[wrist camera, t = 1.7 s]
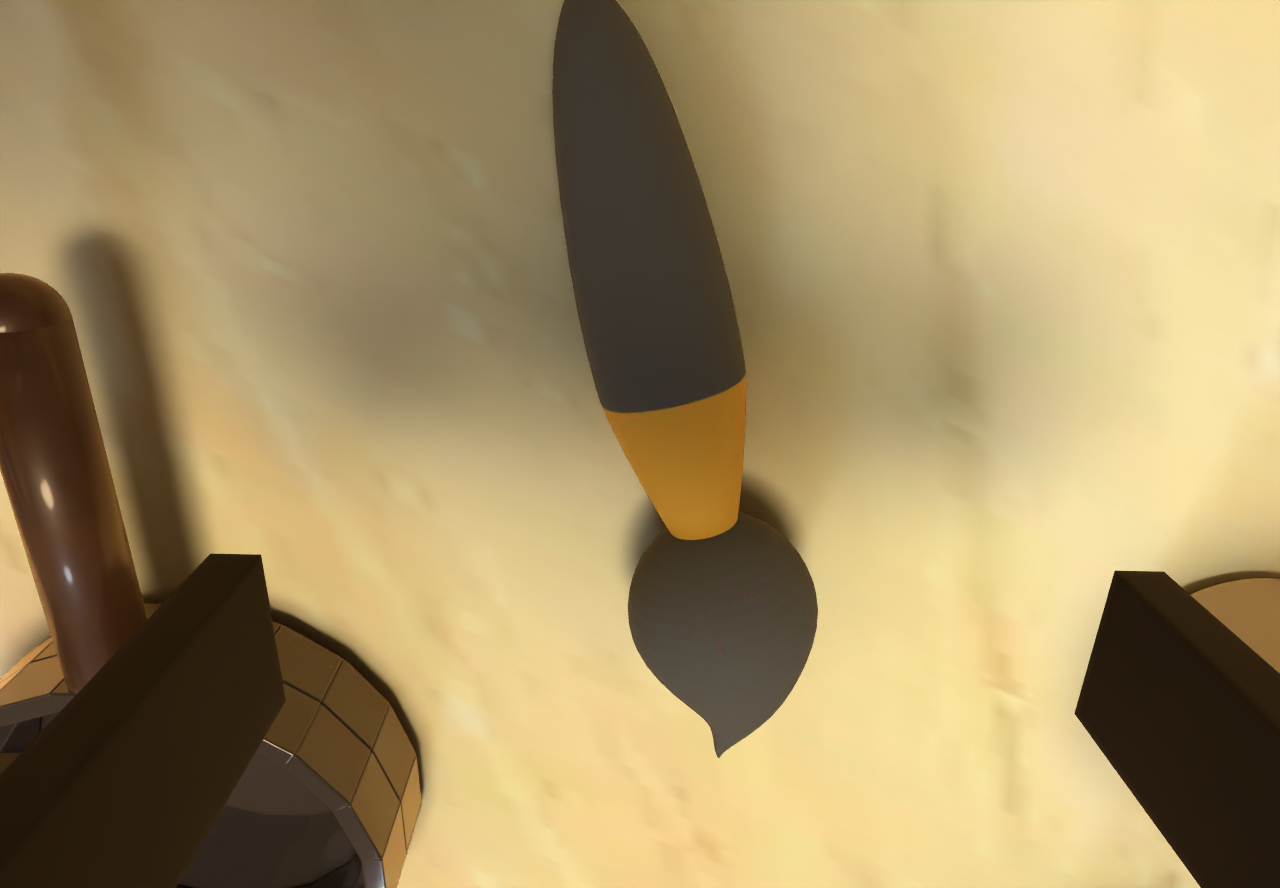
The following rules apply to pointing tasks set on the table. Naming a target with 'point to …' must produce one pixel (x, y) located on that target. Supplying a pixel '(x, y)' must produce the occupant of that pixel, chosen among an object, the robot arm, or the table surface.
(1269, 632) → the travel mug
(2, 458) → the pan handle
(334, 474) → the table surface
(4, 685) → the pan
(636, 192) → the paintbrush
